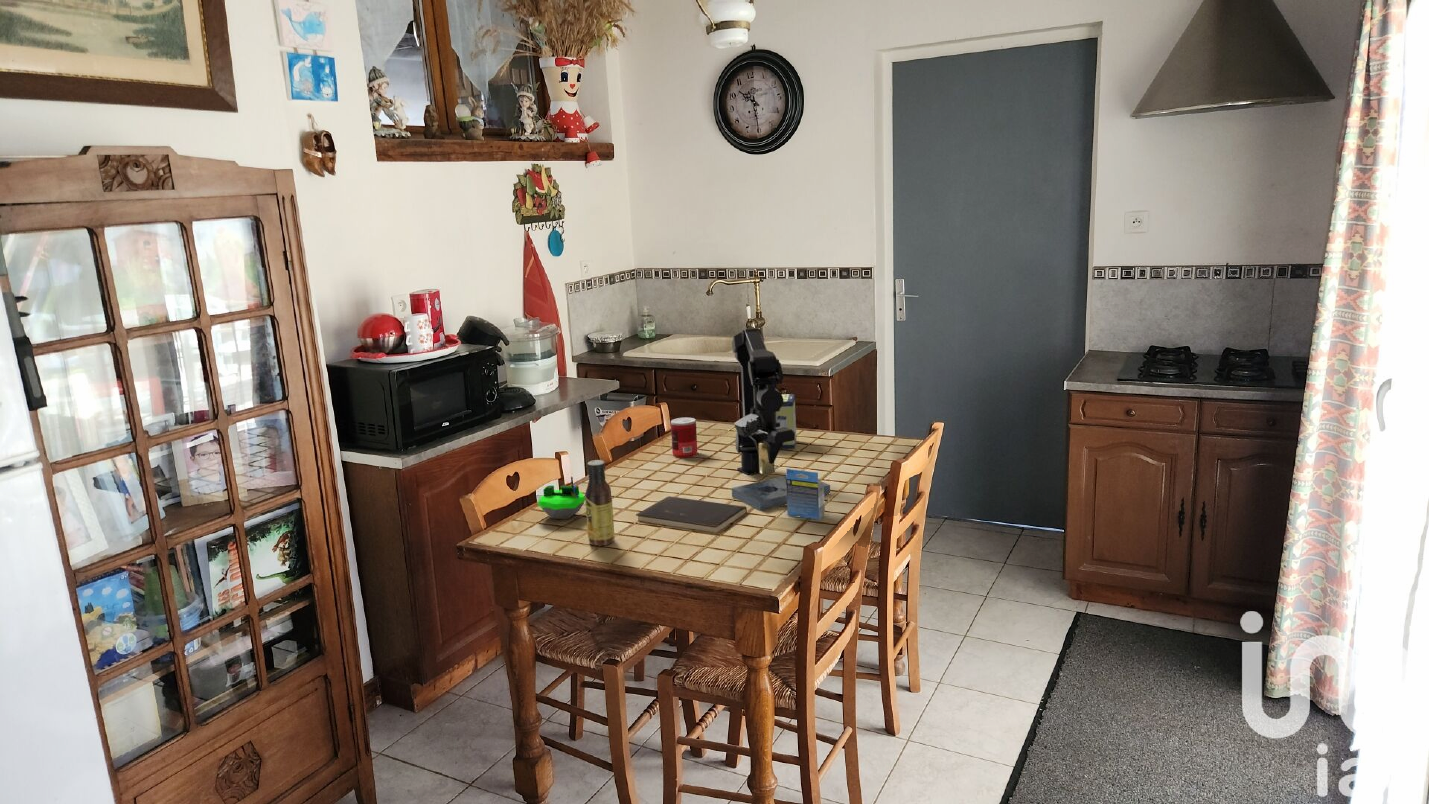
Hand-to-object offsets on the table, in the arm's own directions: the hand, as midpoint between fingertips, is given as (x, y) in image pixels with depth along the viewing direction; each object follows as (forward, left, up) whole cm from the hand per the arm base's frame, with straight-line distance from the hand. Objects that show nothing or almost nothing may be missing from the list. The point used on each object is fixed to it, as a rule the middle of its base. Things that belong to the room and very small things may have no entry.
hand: (767, 461), depth 247 cm
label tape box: (+17, 0, -10) cm, 20 cm away
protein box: (-44, +30, -10) cm, 54 cm away
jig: (0, +4, -10) cm, 11 cm away
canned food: (-52, +3, -10) cm, 53 cm away
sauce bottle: (+3, -49, -10) cm, 50 cm away
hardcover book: (0, -23, -11) cm, 26 cm away
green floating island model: (-20, -50, -10) cm, 55 cm away
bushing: (0, 0, -3) cm, 3 cm away
